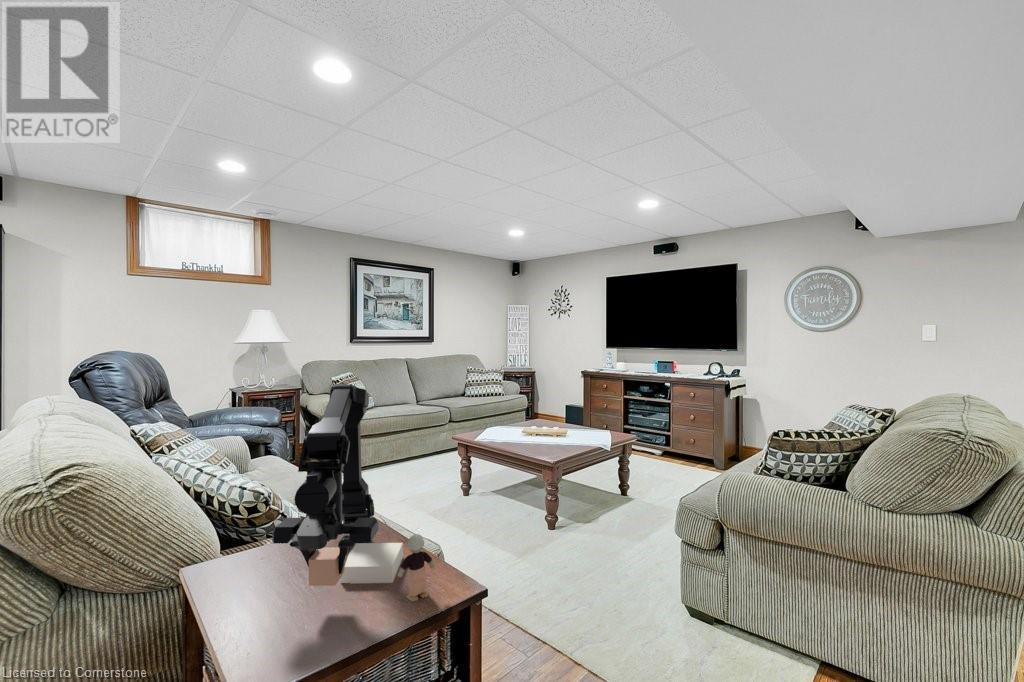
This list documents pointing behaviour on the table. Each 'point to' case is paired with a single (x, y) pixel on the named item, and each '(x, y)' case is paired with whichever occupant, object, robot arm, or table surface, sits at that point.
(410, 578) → the grandmother figurine
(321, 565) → the terracotta block
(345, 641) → the table surface
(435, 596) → the table surface
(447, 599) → the table surface
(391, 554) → the cream box
